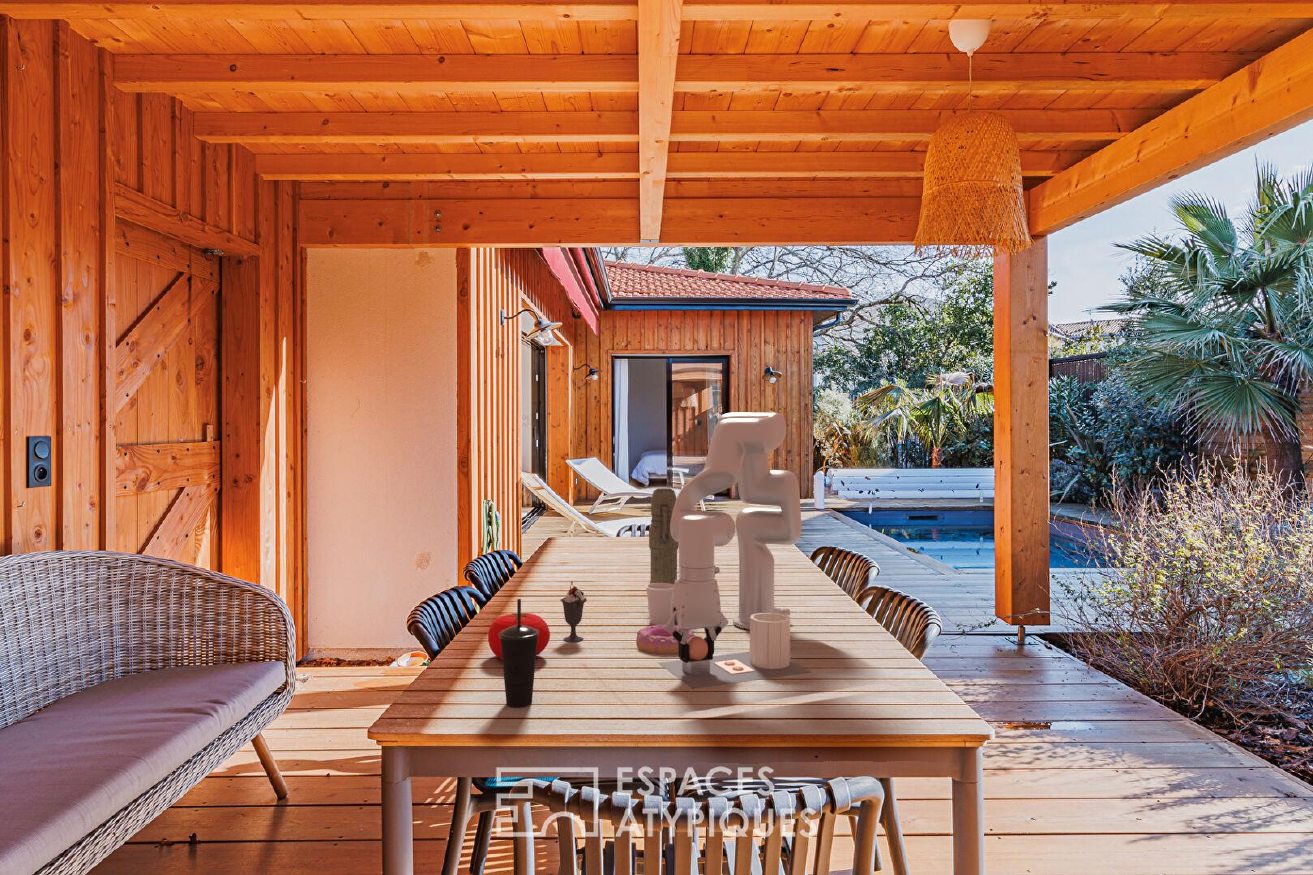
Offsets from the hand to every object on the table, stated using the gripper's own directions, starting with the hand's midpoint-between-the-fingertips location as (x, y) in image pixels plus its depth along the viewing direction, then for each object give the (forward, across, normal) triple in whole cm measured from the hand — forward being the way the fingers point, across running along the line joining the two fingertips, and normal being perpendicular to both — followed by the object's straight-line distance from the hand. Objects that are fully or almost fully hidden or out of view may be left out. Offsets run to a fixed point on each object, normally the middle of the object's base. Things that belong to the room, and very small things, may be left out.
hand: (696, 658), depth 162 cm
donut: (+5, -2, -21) cm, 21 cm away
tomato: (+4, +32, -28) cm, 43 cm away
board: (+4, -9, 0) cm, 10 cm away
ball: (-2, 0, 0) cm, 2 cm away
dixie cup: (+4, -11, -46) cm, 47 cm away
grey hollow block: (+3, 0, 0) cm, 3 cm away
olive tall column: (+5, -19, -63) cm, 66 cm away
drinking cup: (+4, +38, +1) cm, 38 cm away
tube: (+3, -18, 0) cm, 18 cm away
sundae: (+4, +16, -38) cm, 41 cm away
